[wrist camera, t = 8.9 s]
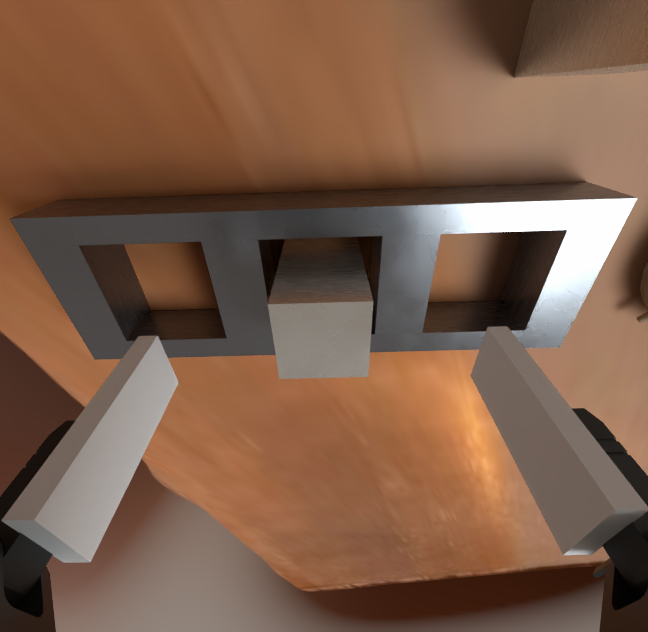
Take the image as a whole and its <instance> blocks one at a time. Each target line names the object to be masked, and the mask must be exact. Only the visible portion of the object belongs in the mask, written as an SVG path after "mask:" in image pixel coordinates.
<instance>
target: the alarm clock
mask: <svg viewBox="0 0 648 632" xmlns="http://www.w3.org/2000/svg"><path fill="white" fill-rule="evenodd" d="M640 291H641V295H642V299H643V303H644V305H645V306H646V307H648V262H647V263H646V265H645V267H644V271H643V275H642V280H641V284H640ZM637 320H638V321H639V322H640V323H641V322H645V321H648V312H646V313H644V314H642V315H641V316H639V317H637Z"/></svg>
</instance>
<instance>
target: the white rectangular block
mask: <svg viewBox="0 0 648 632" xmlns="http://www.w3.org/2000/svg"><path fill="white" fill-rule="evenodd" d="M647 70H648V0H533V4H532V8H531V12H530V16H529V20H528V24H527V28H526V32H525V36H524V40H523V44H522V47H521V51H520V55H519V59H518V63H517V67H516V71H515V75H514V78H517V77H542V76H568V75H593V74H612V73H624V72H636V71H647Z"/></svg>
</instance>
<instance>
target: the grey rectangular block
mask: <svg viewBox="0 0 648 632" xmlns="http://www.w3.org/2000/svg"><path fill="white" fill-rule="evenodd" d="M268 309H269V315H270V322H271V328H272V334H273V341H274V347H275V353H276V360H277V366H278V372H279V379H291V378H333V377H368V371H369V357H370V342H371V328H372V314H373V298H372V294H371V290H370V286H369V282H368V278H367V274H366V270H365V266H364V262H363V258H362V254H361V250H360V246H359V242H358V238H357V237H330V238H299V239H285V242H284V246H283V249H282V253H281V257H280V260H279V264H278V268H277V272H276V275H275V279H274V283H273V287H272V290H271V294H270V298H269V302H268Z"/></svg>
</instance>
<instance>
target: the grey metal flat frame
mask: <svg viewBox="0 0 648 632" xmlns="http://www.w3.org/2000/svg"><path fill="white" fill-rule="evenodd" d="M636 200H637V198H636V197H633V196H630V195H626V194H623V193H620V192H617V191H614V190H611V189H607V188H604V187H601V186H598V185H595V184H592V183H588V182H579V183H549V184H520V185H490V186H461V187H431V188H402V189H372V190H343V191H313V192H284V193H254V194H225V195H195V196H166V197H136V198H107V199H77V200H57V201H55V202H52V203H49V204H47V205H44V206H42V207H39V208H36V209H34V210H31V211H29V212H26V213H23V214H21V215H18V216H16V217H13V218H10V220H11V222H12V223H13V225H14V227H15V228H16V230H17V232H18V233H19V235H20V237H21V238H22V240H23V242H24V243H25V245H26V247H27V248H28V250H29V252H30V253H31V255H32V256H33V258H34V260H35V261H36V263H37V265H38V266H39V268H40V270H41V271H42V273H43V275H44V276H45V278H46V280H47V281H48V283H49V285H50V286H51V288H52V290H53V291H54V293H55V294H56V296H57V298H58V299H59V301H60V303H61V304H62V306H63V308H64V309H65V311H66V313H67V314H68V316H69V318H70V319H71V321H72V323H73V324H74V326H75V328H76V329H77V331H78V332H79V334H80V336H81V337H82V339H83V341H84V342H85V344H86V346H87V347H88V349H89V351H90V352H91V354H92V356H93V357H94V359H122V358H123V357H124V355H125V354H126V353H127V351H128V350H129V349H130V347H131V346H132V345H133V343H134V342H135V341H136V339H137V338H138V337H139V336H158V337H159V340H160V342H161V344H162V346H163V349H164V351H165V353H166V355H167V358H169V357H207V356H245V355H276V353H275V347H274V341H273V334H272V328H271V322H270V315H269V309H268V302H269V298H270V294H271V290H272V287H273V283H274V279H275V270H274V262H273V255H272V248H271V240H270V239H299V238H330V237H362V236H372V252H371V269H370V290H371V294H372V298H373V314H372V328H371V342H370V352H397V351H435V350H474V349H480V347H481V345H482V342H483V339H484V336H485V333H486V330H487V327H500V326H507V327H508V328H509V329H510V330H511V332H512V333H513V334H514V336H515V337H516V338H517V339H518V341H519V342H520V343H521V345H522V346H523V347H524V348H550V347H560V346H561V344H562V342H563V340H564V338H565V336H566V334H567V332H568V330H569V328H570V327H571V325H572V323H573V321H574V319H575V317H576V315H577V313H578V311H579V309H580V307H581V305H582V304H583V302H584V300H585V298H586V296H587V294H588V292H589V290H590V288H591V286H592V284H593V282H594V280H595V279H596V277H597V275H598V273H599V271H600V269H601V267H602V265H603V263H604V261H605V259H606V257H607V256H608V254H609V252H610V250H611V248H612V246H613V244H614V242H615V240H616V238H617V236H618V234H619V233H620V231H621V229H622V227H623V225H624V223H625V221H626V219H627V217H628V215H629V213H630V211H631V209H632V208H633V206H634V204H635V202H636ZM520 231H523V234H522V237H521V239H520V242H519V245H518V248H517V251H516V254H515V257H514V260H513V263H512V266H511V269H510V272H509V275H508V278H507V281H506V284H505V287H504V289H503V292H502V295H501V298H500V301H480V302H445V303H428V299H429V294H430V289H431V283H432V278H433V273H434V267H435V262H436V257H437V251H438V246H439V241H440V235H441V234H456V233H488V232H520ZM173 242H201V244H202V248H203V251H204V255H205V259H206V263H207V266H208V270H209V274H210V277H211V281H212V285H213V289H214V292H215V296H216V300H217V304H218V307H219V309H200V310H165V311H151V310H150V307H149V305H148V303H147V300H146V298H145V295H144V293H143V291H142V288H141V286H140V283H139V281H138V279H137V276H136V274H135V271H134V269H133V267H132V264H131V262H130V260H129V257H128V255H127V252H126V250H125V248H124V245H123V244H141V243H173Z"/></svg>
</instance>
